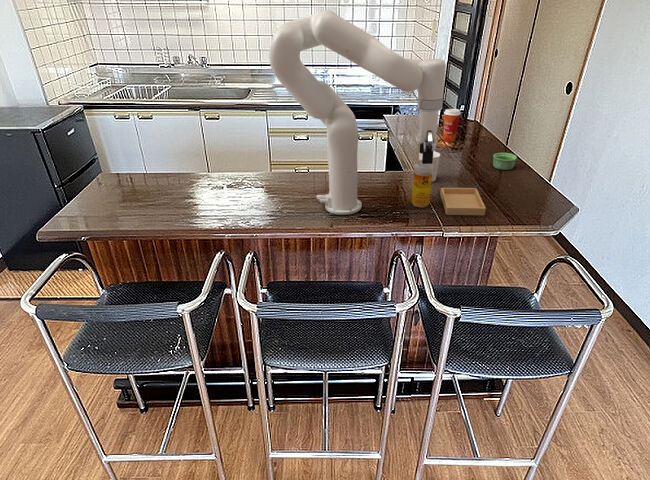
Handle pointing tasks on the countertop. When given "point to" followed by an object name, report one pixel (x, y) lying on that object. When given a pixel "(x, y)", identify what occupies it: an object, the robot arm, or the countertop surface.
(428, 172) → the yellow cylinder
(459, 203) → the tray
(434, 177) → the white cup
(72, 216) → the countertop surface
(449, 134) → the paper cup
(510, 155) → the ramekin
